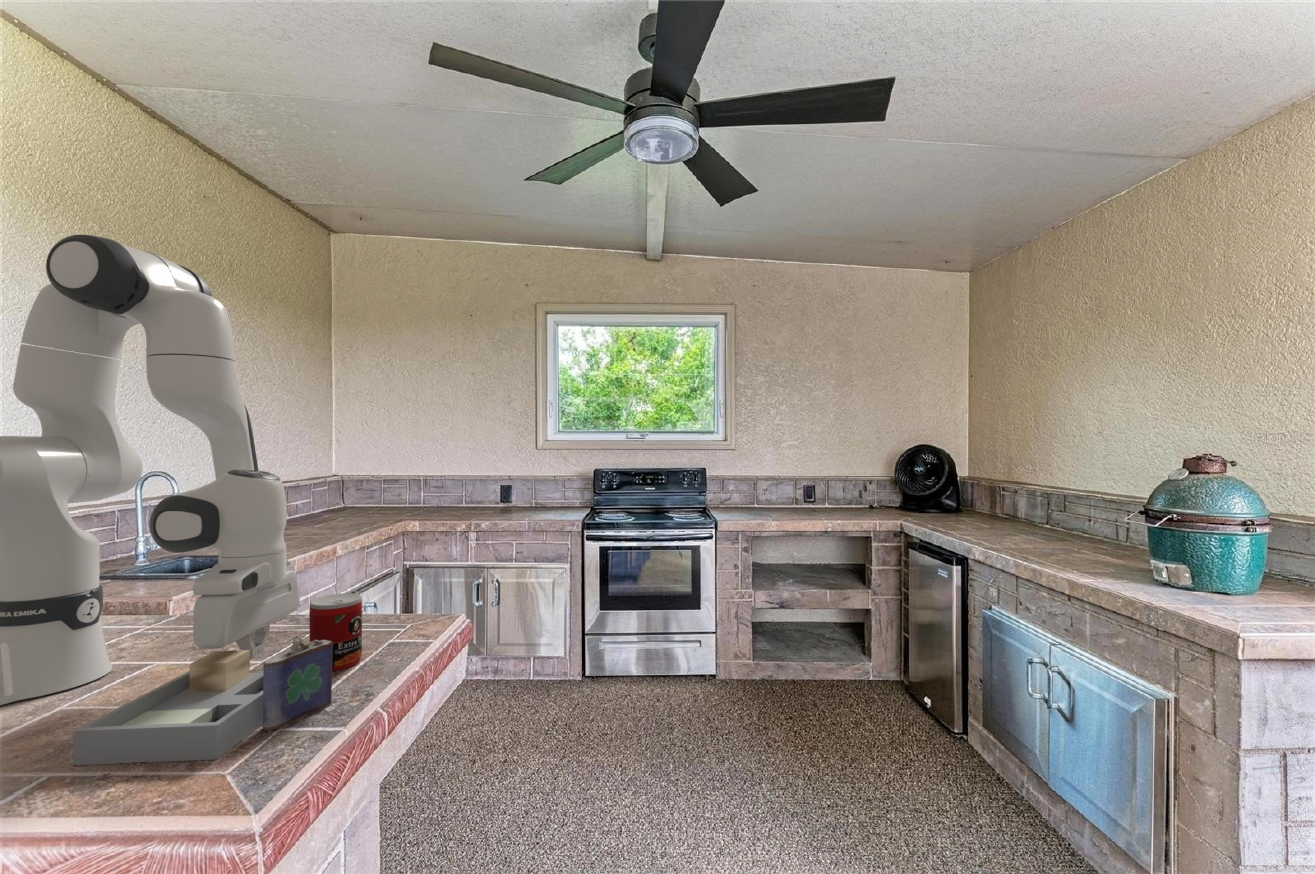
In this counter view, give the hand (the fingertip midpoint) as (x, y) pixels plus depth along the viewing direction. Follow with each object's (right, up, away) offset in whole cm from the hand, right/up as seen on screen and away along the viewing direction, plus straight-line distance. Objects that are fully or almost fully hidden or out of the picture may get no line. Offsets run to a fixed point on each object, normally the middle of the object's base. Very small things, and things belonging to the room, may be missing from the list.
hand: (252, 656), depth 88 cm
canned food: (+10, -4, +5) cm, 12 cm away
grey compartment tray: (+4, -3, -13) cm, 15 cm away
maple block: (0, -1, -7) cm, 7 cm away
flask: (+16, -3, -13) cm, 21 cm away
